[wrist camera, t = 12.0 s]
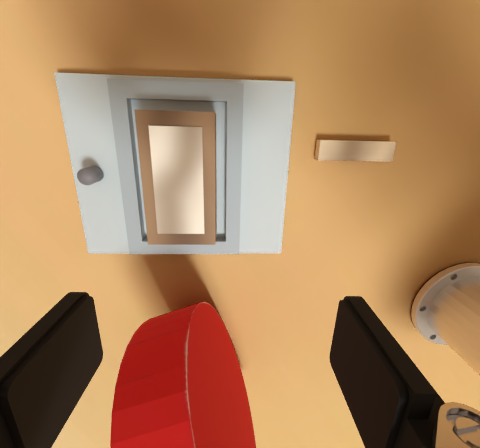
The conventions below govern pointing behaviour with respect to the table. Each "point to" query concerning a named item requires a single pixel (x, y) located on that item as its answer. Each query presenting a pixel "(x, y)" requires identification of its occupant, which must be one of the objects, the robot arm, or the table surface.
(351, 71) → the table surface
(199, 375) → the toy clock
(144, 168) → the frame
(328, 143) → the prop batten
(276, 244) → the white cabinet door
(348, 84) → the table surface
